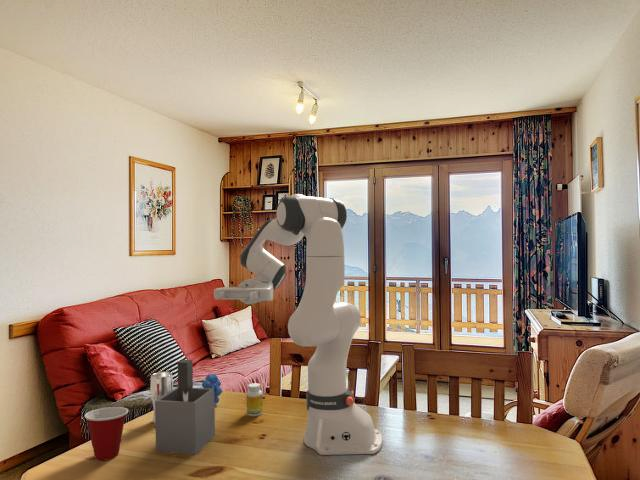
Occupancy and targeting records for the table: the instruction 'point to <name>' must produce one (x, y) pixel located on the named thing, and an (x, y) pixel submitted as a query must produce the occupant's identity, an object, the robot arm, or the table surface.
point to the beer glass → (160, 386)
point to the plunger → (185, 377)
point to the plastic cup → (106, 431)
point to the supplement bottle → (254, 400)
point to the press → (184, 421)
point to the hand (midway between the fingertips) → (235, 295)
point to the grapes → (213, 386)
